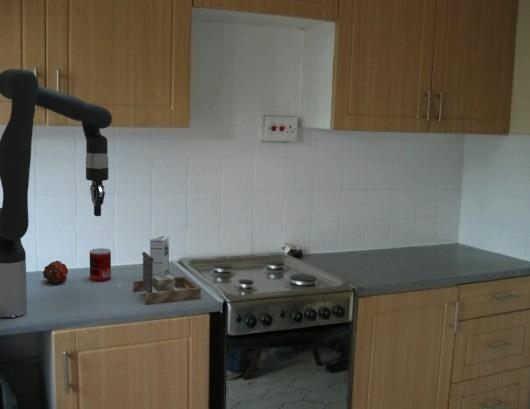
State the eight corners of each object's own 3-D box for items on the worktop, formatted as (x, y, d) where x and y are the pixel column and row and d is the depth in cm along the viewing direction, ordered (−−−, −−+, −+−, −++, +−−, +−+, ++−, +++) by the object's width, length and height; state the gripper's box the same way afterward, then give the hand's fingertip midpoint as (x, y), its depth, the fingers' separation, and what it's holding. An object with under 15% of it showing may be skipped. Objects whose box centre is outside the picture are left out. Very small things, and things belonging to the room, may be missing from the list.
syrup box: (164, 276, 249) (164, 239, 246) (149, 274, 250) (149, 238, 248) (169, 272, 254) (169, 236, 252) (155, 271, 255) (155, 235, 253)
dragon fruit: (54, 291, 230) (53, 286, 241) (73, 276, 232) (72, 272, 244) (38, 272, 228) (39, 269, 240) (58, 257, 231) (58, 254, 242)
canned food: (112, 276, 246) (112, 248, 244) (108, 282, 238) (108, 253, 236) (92, 275, 246) (92, 247, 244) (87, 281, 238) (87, 252, 236)
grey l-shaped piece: (149, 300, 216) (149, 258, 214) (142, 293, 224) (142, 252, 222) (179, 297, 221) (180, 255, 219) (171, 290, 229) (171, 249, 227)
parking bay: (146, 305, 212) (146, 294, 211) (133, 292, 227) (133, 281, 226) (200, 299, 221) (200, 288, 220) (184, 286, 235) (184, 276, 234)
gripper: (82, 164, 224) (82, 213, 227) (89, 168, 212) (90, 219, 215) (103, 164, 227) (104, 212, 230) (112, 168, 216) (112, 218, 218)
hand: (97, 215), depth 223 cm, fingers closed
